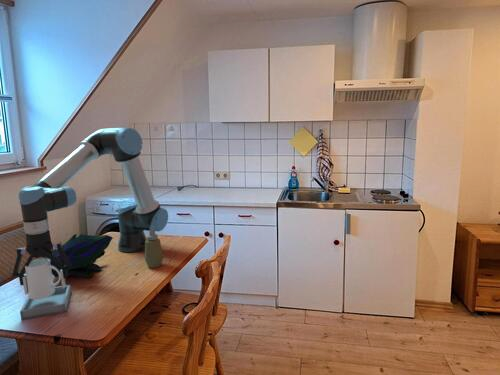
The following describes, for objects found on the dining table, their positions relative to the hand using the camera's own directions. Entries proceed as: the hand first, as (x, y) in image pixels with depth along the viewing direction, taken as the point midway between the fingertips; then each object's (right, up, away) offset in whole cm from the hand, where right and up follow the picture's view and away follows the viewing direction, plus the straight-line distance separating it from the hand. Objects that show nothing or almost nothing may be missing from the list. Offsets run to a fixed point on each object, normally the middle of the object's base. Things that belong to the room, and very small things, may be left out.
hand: (45, 289), depth 135 cm
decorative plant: (+2, -1, +28) cm, 28 cm away
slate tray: (0, -6, +1) cm, 6 cm away
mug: (0, -2, 0) cm, 2 cm away
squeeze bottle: (+31, +1, +34) cm, 46 cm away
